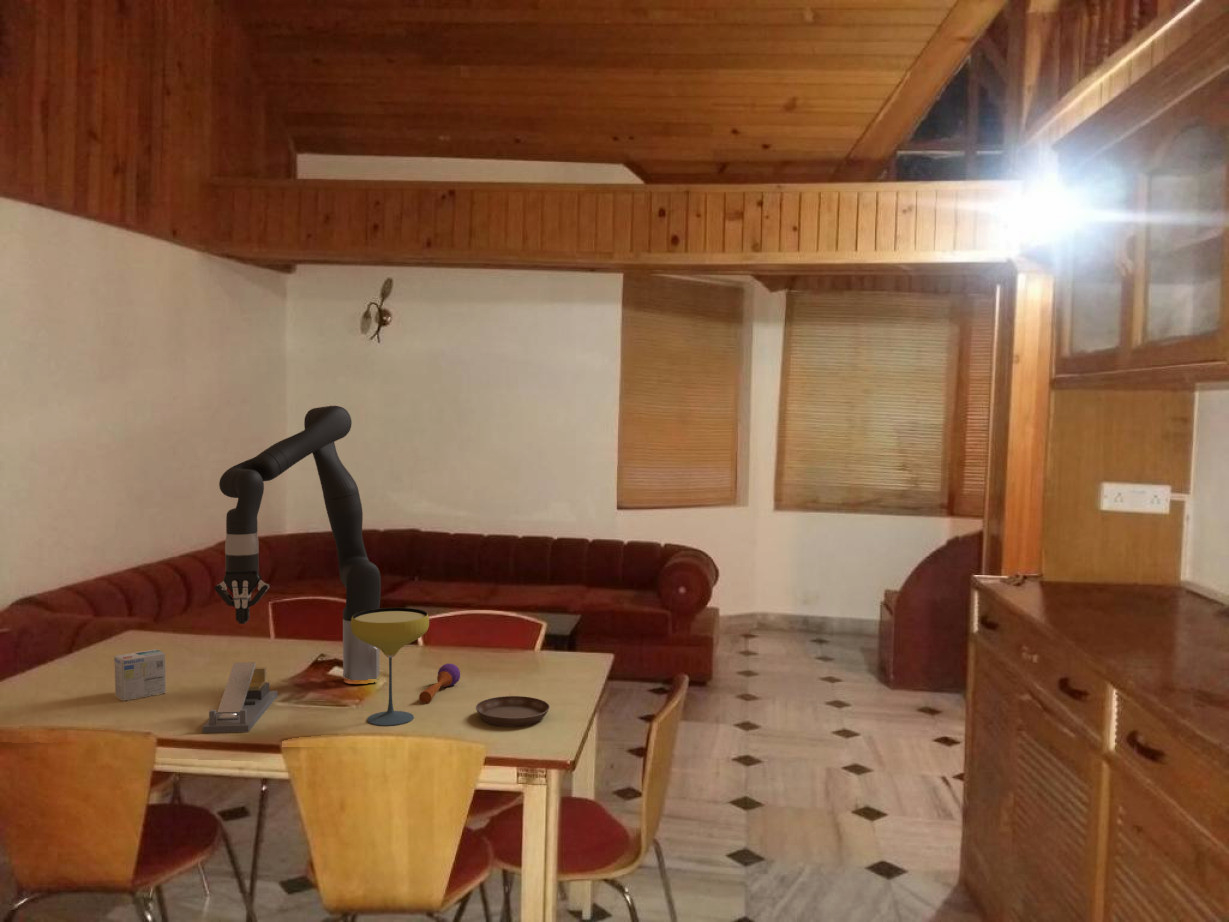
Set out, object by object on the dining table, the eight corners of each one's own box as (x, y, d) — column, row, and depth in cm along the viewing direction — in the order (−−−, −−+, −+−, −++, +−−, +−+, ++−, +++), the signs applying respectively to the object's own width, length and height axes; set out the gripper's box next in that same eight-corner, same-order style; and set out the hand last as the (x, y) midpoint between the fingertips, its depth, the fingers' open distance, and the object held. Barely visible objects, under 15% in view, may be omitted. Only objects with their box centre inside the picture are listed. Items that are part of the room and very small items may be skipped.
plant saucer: (550, 707, 243) (550, 695, 243) (548, 730, 225) (548, 717, 225) (479, 707, 242) (479, 695, 242) (471, 730, 224) (471, 717, 224)
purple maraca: (411, 687, 245) (440, 662, 264) (416, 710, 245) (444, 682, 265) (433, 684, 243) (460, 659, 263) (438, 707, 244) (465, 680, 263)
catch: (259, 690, 241) (259, 674, 240) (238, 690, 240) (238, 674, 240) (266, 682, 247) (266, 667, 247) (245, 683, 247) (245, 667, 247)
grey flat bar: (238, 721, 222) (237, 716, 222) (216, 722, 222) (215, 717, 221) (255, 666, 237) (255, 661, 236) (234, 666, 237) (233, 661, 236)
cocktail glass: (364, 706, 241) (363, 606, 240) (436, 708, 240) (436, 608, 239) (341, 730, 223) (340, 622, 222) (419, 731, 222) (419, 623, 221)
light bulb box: (157, 688, 255) (156, 648, 255) (166, 694, 250) (166, 652, 250) (113, 696, 248) (113, 654, 247) (122, 702, 243) (122, 659, 243)
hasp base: (248, 731, 221) (248, 712, 221) (202, 733, 220) (202, 713, 220) (277, 696, 249) (277, 679, 249) (237, 697, 248) (236, 679, 248)
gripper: (274, 549, 238) (274, 619, 239) (218, 549, 237) (218, 620, 238) (266, 553, 231) (267, 626, 231) (208, 554, 229) (209, 626, 230)
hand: (242, 623), depth 235 cm, fingers closed
